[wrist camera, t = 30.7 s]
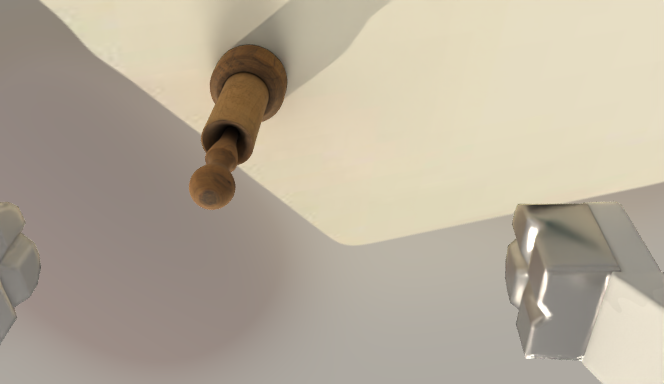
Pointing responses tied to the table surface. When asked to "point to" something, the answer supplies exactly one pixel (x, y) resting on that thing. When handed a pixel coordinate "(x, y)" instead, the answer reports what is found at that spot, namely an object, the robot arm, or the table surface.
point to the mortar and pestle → (236, 119)
